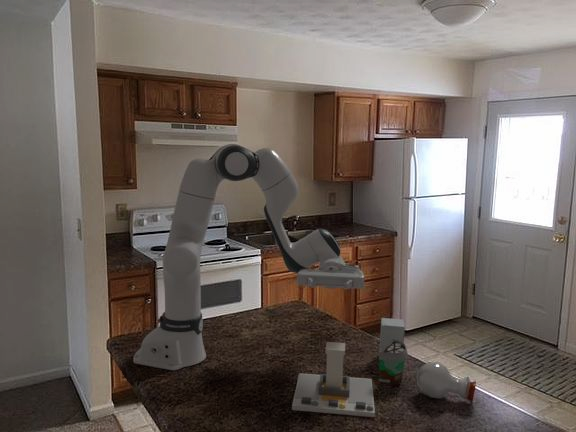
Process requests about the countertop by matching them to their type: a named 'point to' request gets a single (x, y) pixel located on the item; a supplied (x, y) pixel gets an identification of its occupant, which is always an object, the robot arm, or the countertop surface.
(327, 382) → the plug
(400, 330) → the supplement box
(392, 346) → the food container
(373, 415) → the board
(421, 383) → the potion bottle
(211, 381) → the countertop surface
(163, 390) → the countertop surface
